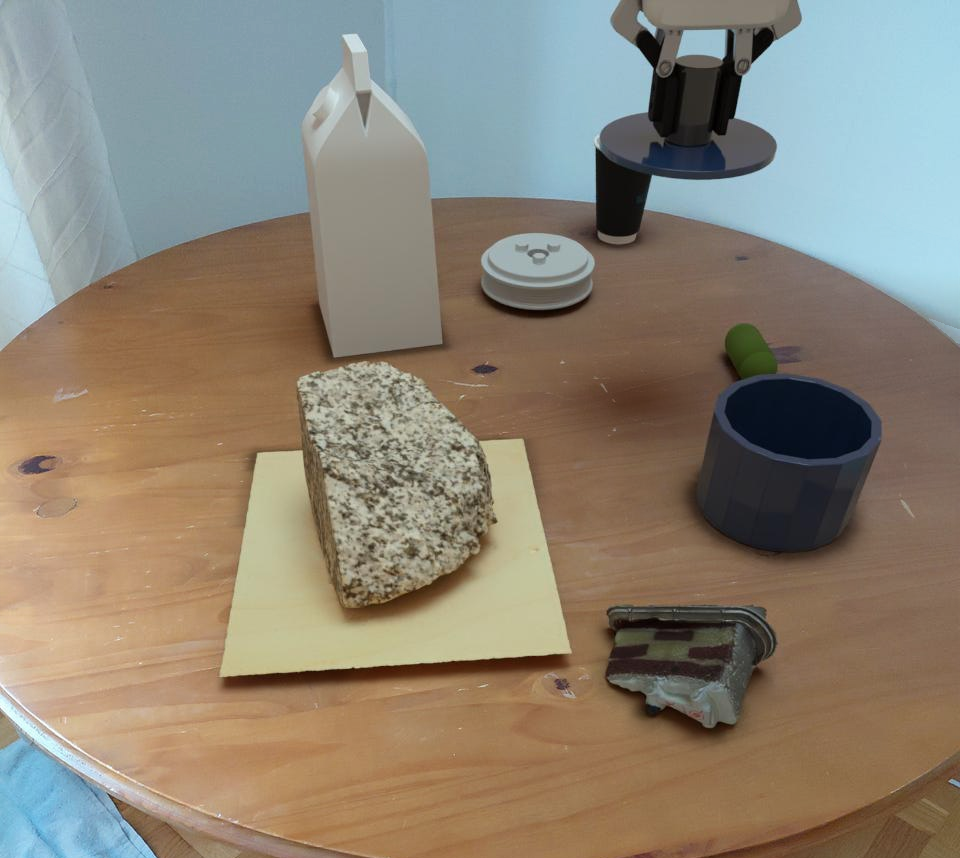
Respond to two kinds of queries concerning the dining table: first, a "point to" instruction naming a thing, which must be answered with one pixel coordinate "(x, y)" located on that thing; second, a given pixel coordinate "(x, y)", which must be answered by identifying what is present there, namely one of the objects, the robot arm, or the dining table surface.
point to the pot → (786, 461)
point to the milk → (370, 215)
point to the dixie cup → (618, 199)
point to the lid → (537, 271)
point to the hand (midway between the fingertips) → (689, 127)
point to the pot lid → (690, 133)
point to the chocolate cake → (689, 656)
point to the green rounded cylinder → (749, 351)
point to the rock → (389, 538)
